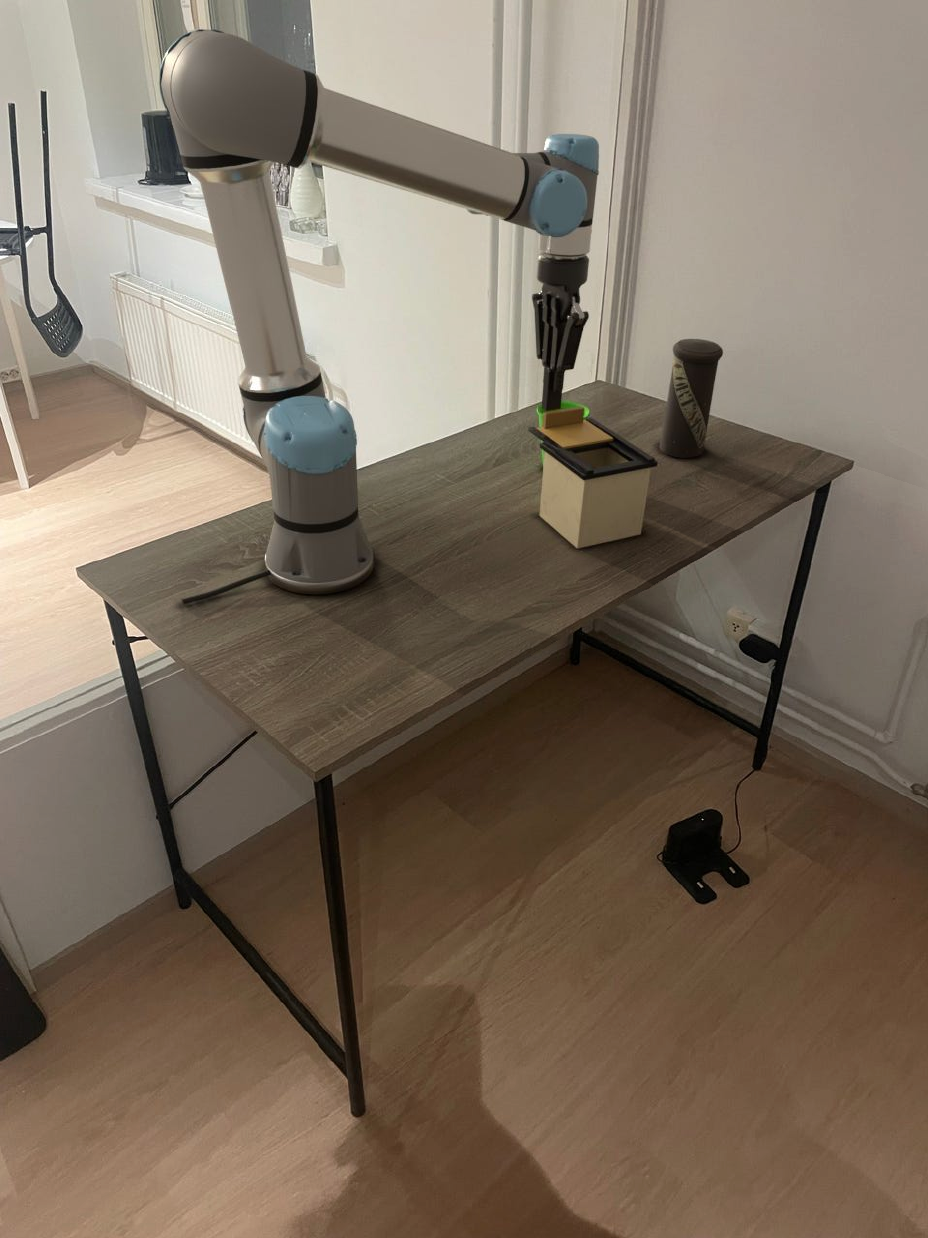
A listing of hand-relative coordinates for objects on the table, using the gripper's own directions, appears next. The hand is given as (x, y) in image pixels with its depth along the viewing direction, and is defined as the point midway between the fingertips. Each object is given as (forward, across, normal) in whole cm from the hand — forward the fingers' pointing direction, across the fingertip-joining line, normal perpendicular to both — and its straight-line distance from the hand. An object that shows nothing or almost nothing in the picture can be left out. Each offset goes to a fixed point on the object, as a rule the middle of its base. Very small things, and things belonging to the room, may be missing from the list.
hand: (551, 408), depth 146 cm
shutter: (+2, -8, 0) cm, 8 cm away
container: (+14, +4, -32) cm, 35 cm away
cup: (+14, +6, -6) cm, 17 cm away
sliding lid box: (+14, -12, 0) cm, 19 cm away
